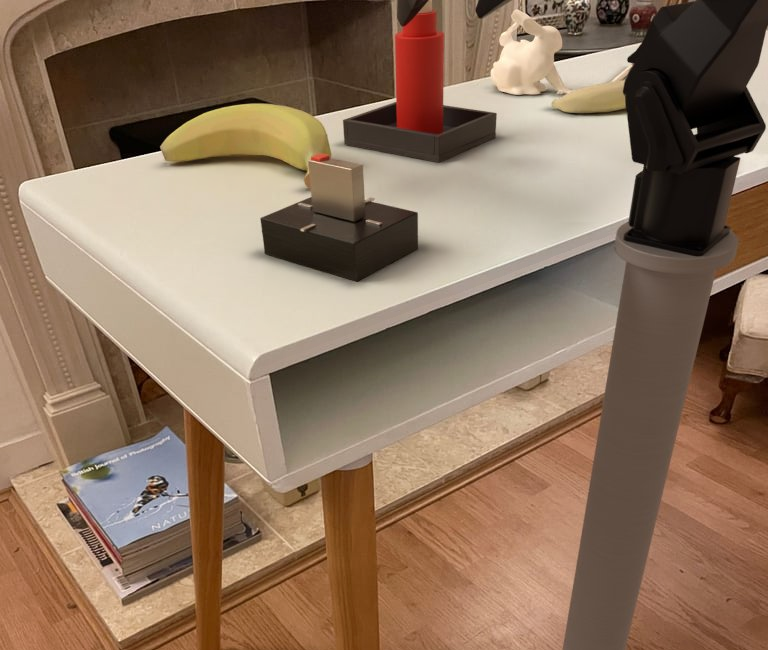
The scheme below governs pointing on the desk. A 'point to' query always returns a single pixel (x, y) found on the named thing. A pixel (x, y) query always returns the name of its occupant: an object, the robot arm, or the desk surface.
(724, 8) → the robot arm
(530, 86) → the rabbit figurine
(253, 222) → the desk surface
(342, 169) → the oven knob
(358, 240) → the black rectangular block
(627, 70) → the pale wooden rod
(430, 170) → the desk surface
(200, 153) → the banana
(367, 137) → the tray
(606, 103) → the fruit
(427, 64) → the ketchup bottle
